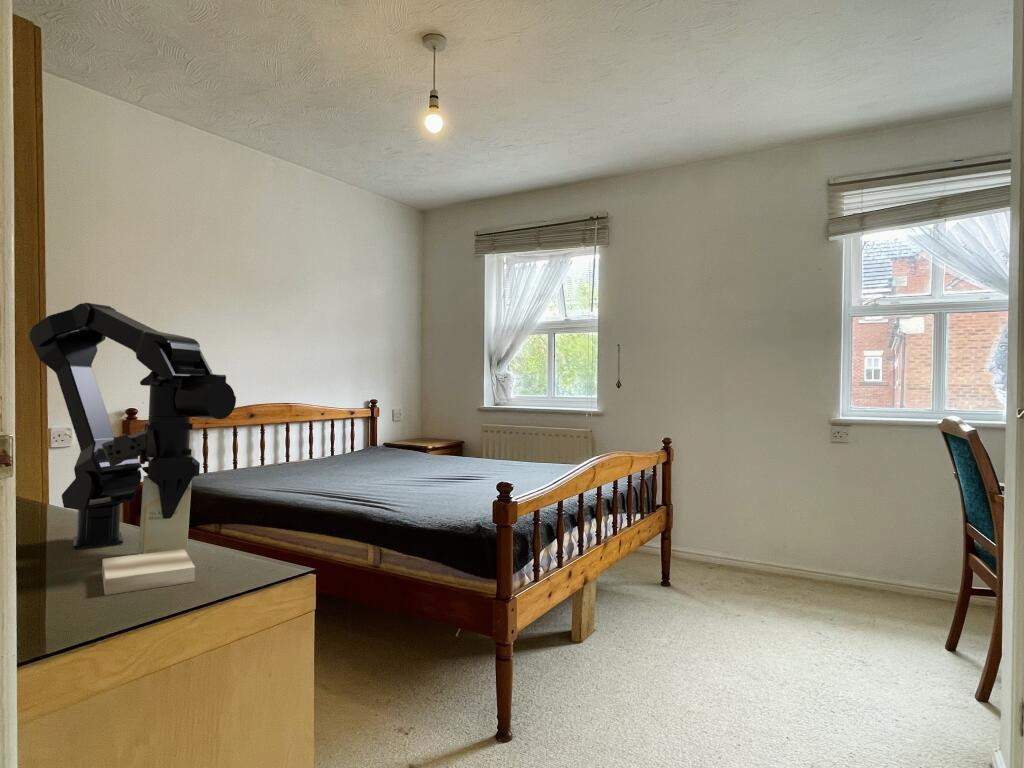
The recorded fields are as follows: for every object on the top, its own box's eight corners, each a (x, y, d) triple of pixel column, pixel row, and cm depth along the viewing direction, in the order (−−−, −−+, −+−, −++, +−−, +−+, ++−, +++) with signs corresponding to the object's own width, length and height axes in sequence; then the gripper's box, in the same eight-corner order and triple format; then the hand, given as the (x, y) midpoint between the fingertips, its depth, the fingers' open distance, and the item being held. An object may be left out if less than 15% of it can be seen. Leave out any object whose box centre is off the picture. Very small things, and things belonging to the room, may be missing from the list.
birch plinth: (101, 573, 80) (102, 558, 80) (183, 562, 86) (184, 549, 86) (104, 595, 72) (105, 579, 72) (194, 581, 78) (195, 567, 78)
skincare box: (141, 560, 86) (145, 479, 86) (137, 553, 89) (141, 475, 89) (188, 554, 90) (192, 477, 90) (183, 547, 93) (187, 473, 93)
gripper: (104, 411, 92) (100, 508, 92) (110, 419, 78) (104, 535, 77) (183, 412, 99) (179, 502, 99) (202, 419, 84) (197, 526, 84)
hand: (165, 515), depth 90 cm, fingers closed on skincare box, 4 cm apart
